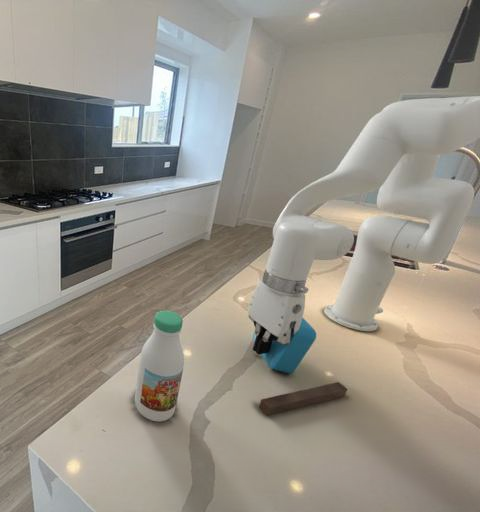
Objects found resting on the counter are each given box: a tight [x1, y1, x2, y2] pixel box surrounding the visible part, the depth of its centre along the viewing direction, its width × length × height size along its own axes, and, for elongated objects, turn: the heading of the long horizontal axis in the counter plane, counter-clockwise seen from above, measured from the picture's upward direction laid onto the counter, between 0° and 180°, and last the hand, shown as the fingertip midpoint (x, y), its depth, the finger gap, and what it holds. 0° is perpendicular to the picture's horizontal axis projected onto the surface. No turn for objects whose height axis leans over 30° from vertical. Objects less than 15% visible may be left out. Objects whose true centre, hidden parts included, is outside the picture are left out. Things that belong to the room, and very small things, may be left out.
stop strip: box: [258, 381, 349, 416], centre depth 59 cm, size 20×2×2 cm, turn 106°
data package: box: [252, 316, 317, 374], centre depth 69 cm, size 12×4×12 cm, turn 174°
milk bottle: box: [134, 310, 185, 422], centre depth 53 cm, size 8×8×20 cm
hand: (260, 351), depth 69 cm, fingers closed
